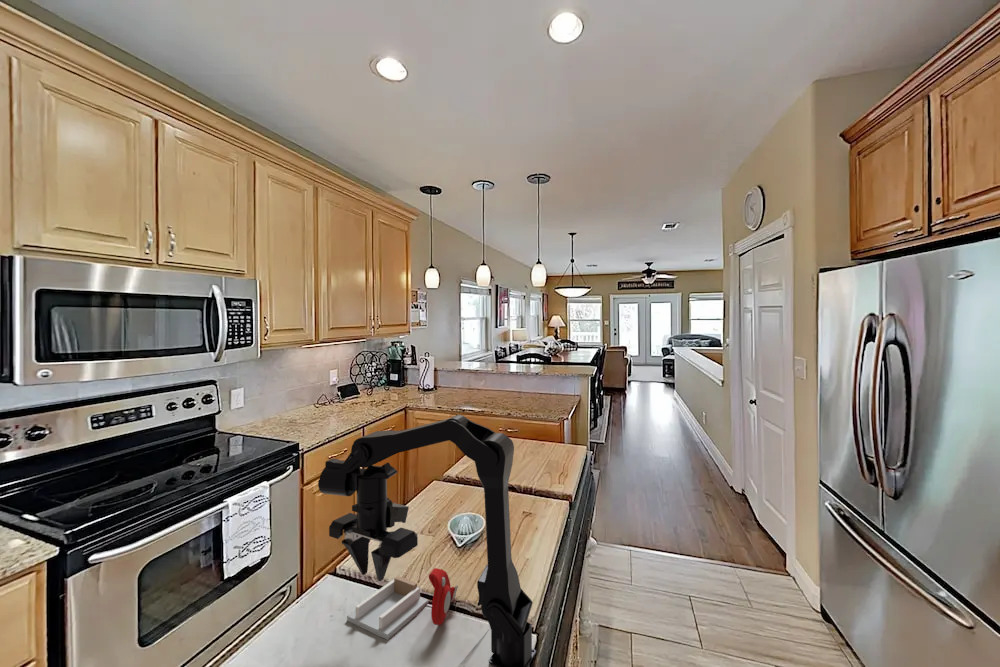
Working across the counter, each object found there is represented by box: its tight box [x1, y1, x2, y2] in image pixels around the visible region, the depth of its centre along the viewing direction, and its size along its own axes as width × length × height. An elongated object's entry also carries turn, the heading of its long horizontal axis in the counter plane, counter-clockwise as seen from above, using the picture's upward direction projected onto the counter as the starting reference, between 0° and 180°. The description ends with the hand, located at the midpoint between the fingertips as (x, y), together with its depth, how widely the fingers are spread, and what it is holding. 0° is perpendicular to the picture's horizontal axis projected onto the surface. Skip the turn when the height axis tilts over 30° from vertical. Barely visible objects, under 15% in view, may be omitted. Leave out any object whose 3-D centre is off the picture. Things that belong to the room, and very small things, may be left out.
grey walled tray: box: [346, 575, 429, 641], centre depth 88 cm, size 11×12×4 cm
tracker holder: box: [428, 567, 459, 626], centre depth 87 cm, size 12×4×10 cm, turn 166°
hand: (372, 577), depth 84 cm, fingers open, 4 cm apart
